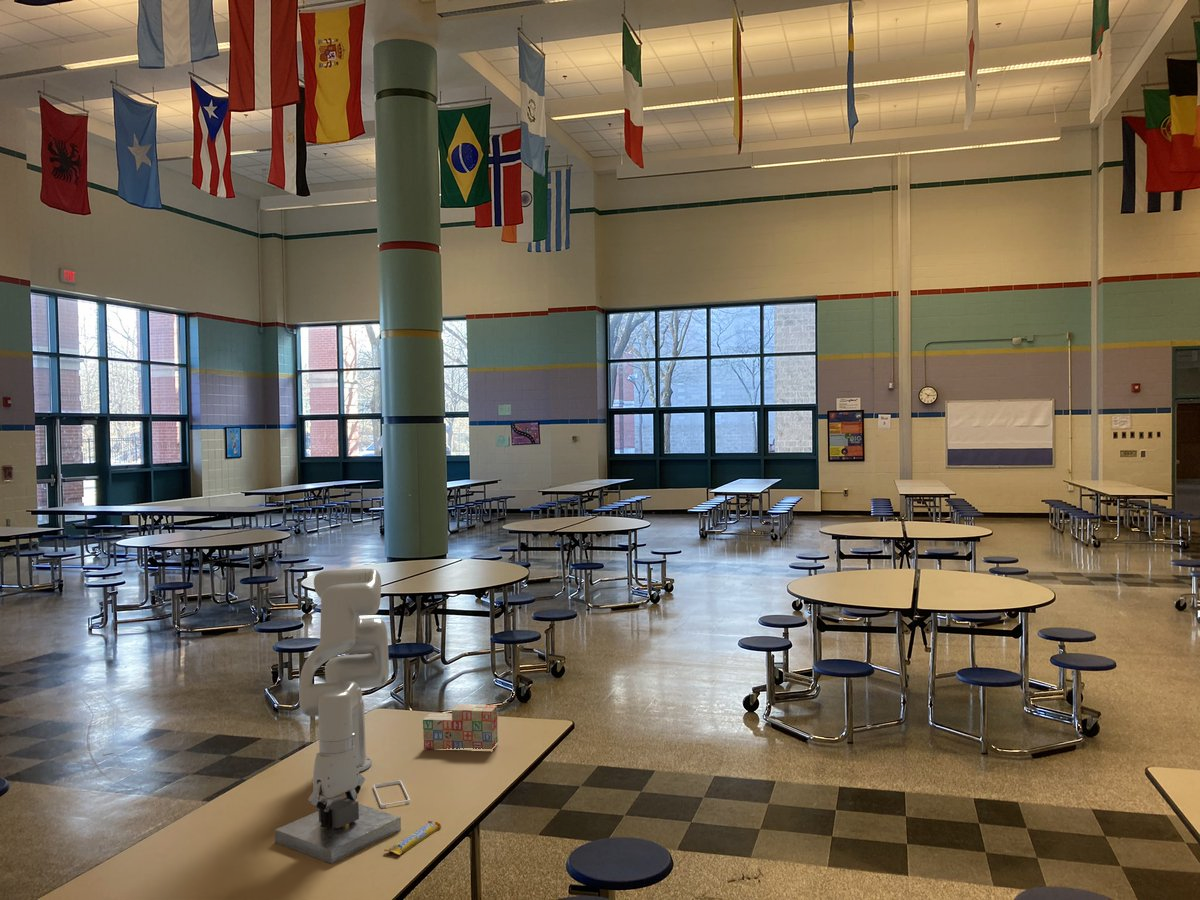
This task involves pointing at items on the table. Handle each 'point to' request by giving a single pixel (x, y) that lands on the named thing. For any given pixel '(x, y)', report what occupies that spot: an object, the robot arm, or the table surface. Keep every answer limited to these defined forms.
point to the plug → (343, 812)
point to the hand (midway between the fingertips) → (338, 820)
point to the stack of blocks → (462, 728)
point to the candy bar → (414, 838)
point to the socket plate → (337, 834)
